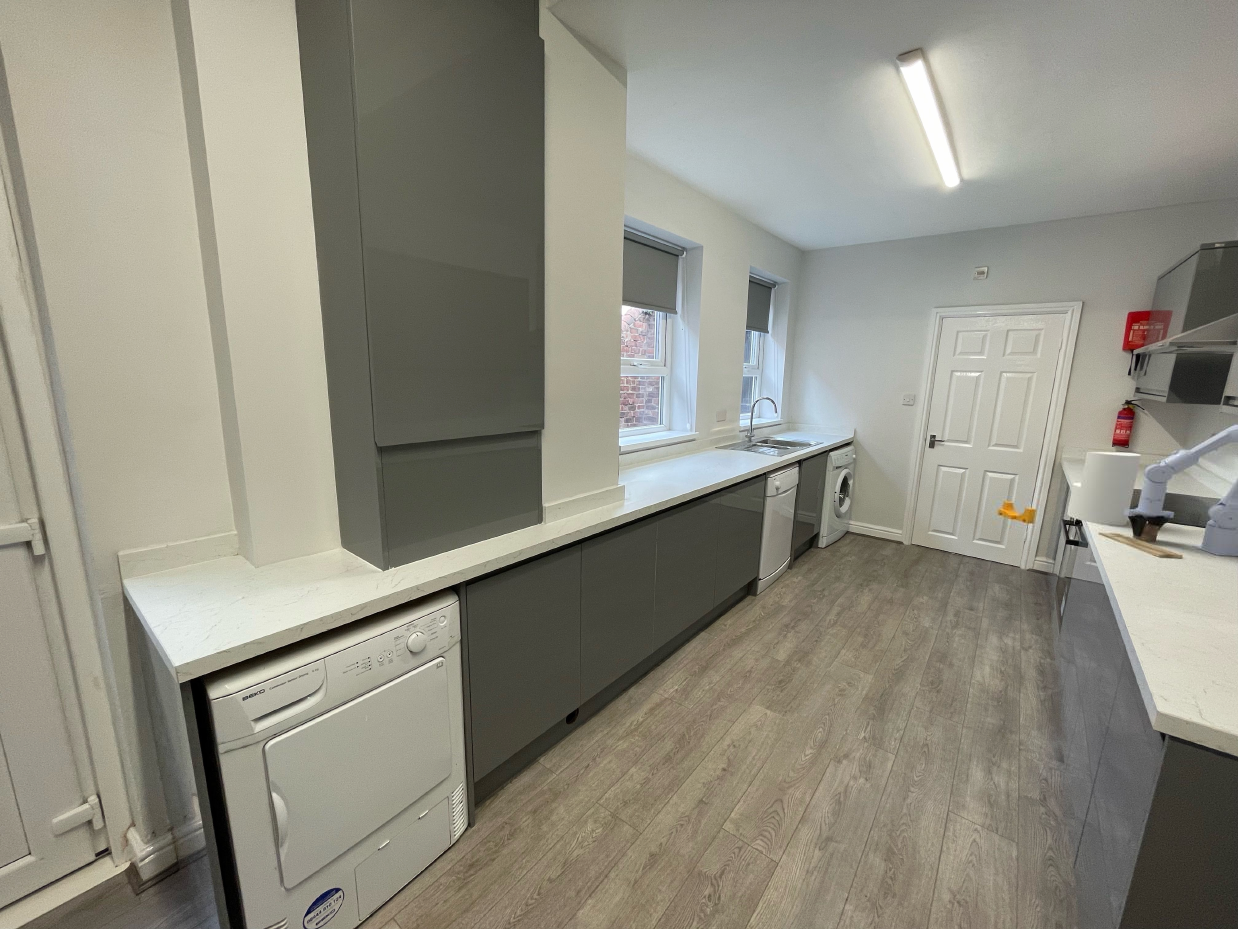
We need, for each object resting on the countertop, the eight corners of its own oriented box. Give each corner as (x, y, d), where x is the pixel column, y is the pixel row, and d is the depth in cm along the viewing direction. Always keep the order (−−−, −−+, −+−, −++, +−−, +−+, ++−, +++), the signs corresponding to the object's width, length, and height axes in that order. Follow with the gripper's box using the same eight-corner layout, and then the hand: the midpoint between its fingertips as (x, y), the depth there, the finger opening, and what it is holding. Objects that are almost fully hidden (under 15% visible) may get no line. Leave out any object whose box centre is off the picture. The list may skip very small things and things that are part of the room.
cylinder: (1139, 527, 189) (1154, 456, 184) (1093, 526, 189) (1108, 455, 184) (1096, 515, 206) (1110, 449, 201) (1055, 514, 206) (1067, 448, 201)
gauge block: (1144, 539, 175) (1147, 522, 174) (1155, 543, 171) (1159, 526, 170) (1132, 538, 175) (1135, 522, 174) (1143, 542, 171) (1146, 525, 170)
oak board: (1118, 536, 178) (1119, 533, 178) (1182, 558, 156) (1182, 554, 156) (1098, 535, 178) (1098, 532, 178) (1158, 557, 157) (1159, 553, 157)
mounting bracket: (996, 516, 201) (999, 501, 200) (1006, 516, 202) (1009, 501, 200) (1022, 525, 189) (1025, 509, 188) (1033, 525, 190) (1036, 509, 189)
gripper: (1162, 496, 174) (1154, 533, 177) (1119, 495, 175) (1111, 531, 178) (1183, 501, 167) (1174, 539, 170) (1138, 500, 168) (1129, 537, 171)
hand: (1143, 536), depth 173 cm, fingers closed on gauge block, 4 cm apart
